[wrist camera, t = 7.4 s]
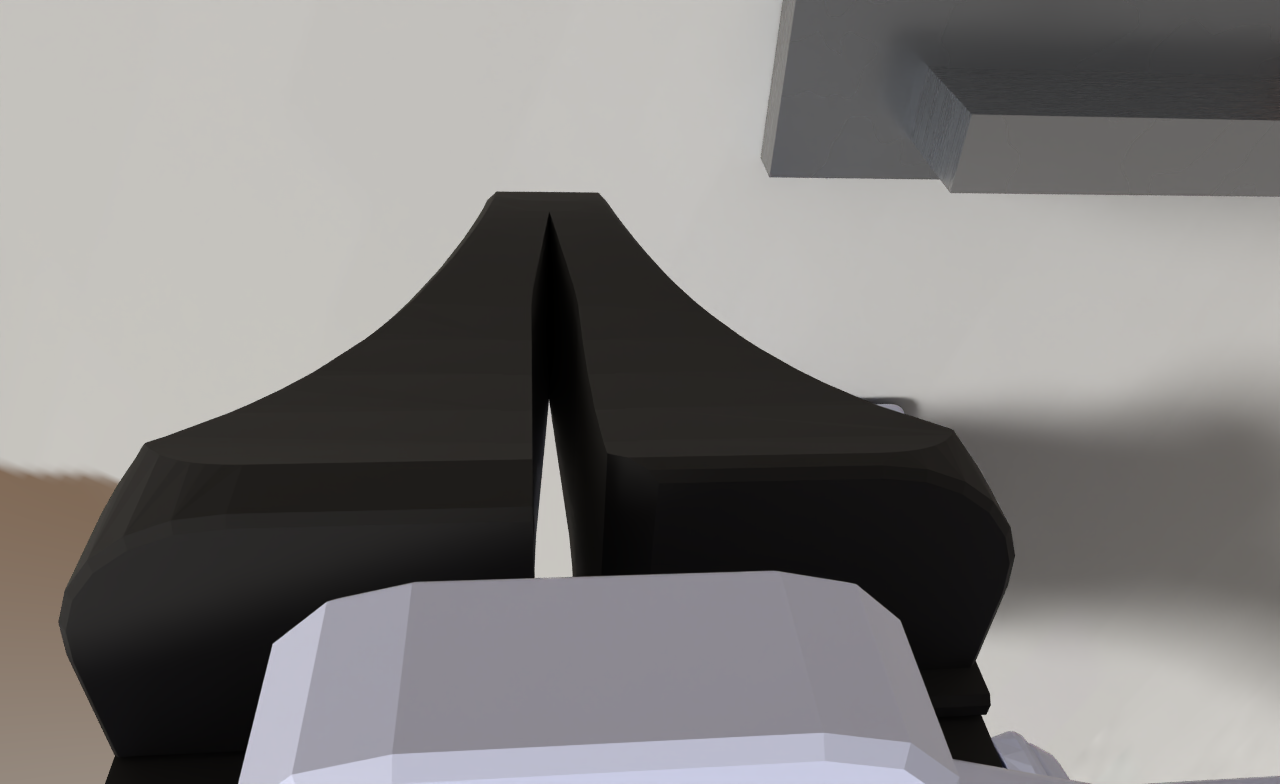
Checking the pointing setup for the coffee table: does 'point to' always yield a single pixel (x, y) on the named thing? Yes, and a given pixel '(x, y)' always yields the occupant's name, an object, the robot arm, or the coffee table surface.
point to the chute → (1030, 95)
